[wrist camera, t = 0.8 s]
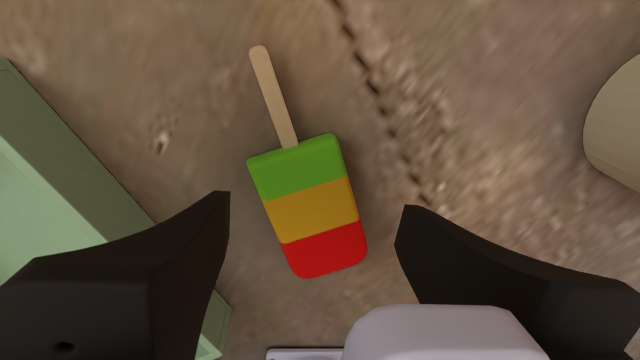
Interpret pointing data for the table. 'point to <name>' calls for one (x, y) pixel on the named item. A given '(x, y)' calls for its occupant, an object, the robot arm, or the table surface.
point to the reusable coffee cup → (616, 126)
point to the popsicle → (305, 190)
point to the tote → (65, 196)
